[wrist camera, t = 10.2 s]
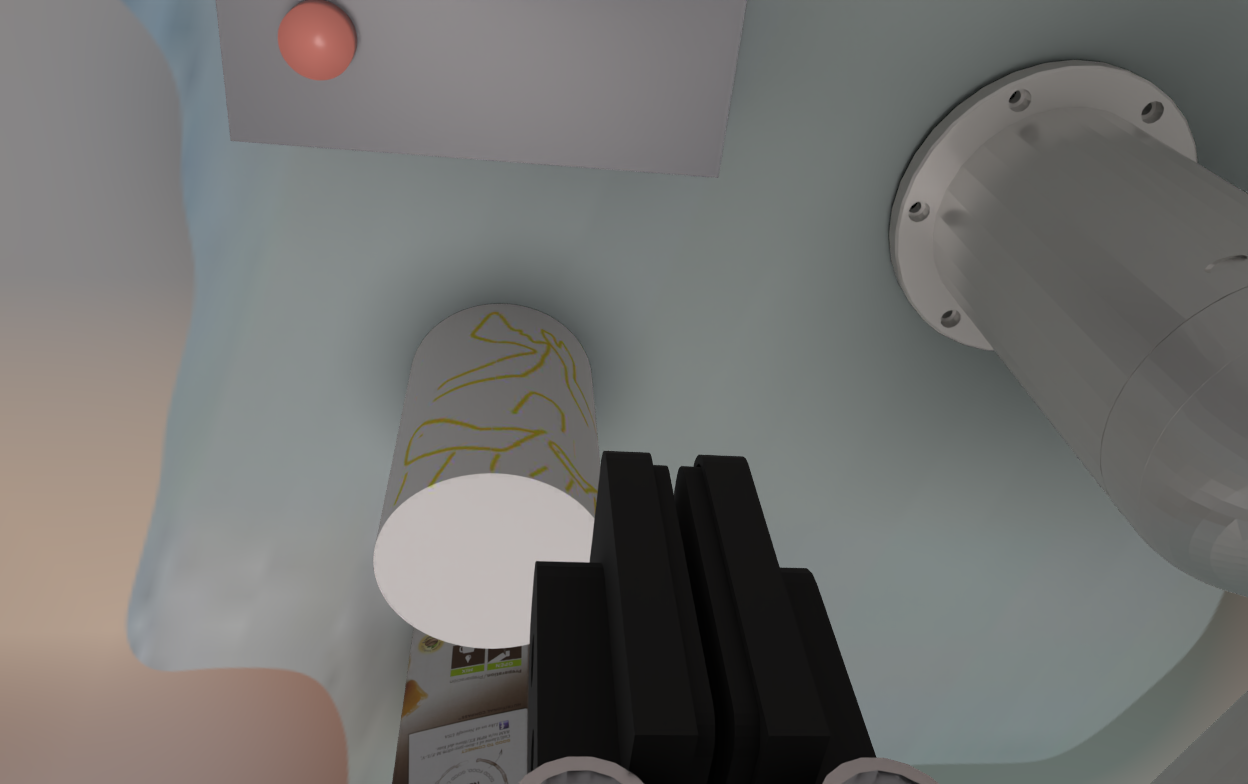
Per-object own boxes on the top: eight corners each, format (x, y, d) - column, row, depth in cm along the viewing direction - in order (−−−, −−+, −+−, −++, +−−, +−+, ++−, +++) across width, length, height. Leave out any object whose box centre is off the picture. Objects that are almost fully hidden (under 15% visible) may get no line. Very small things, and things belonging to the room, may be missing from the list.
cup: (613, 325, 43) (636, 496, 33) (567, 470, 47) (576, 662, 37) (427, 285, 42) (393, 453, 32) (396, 439, 46) (357, 631, 36)
